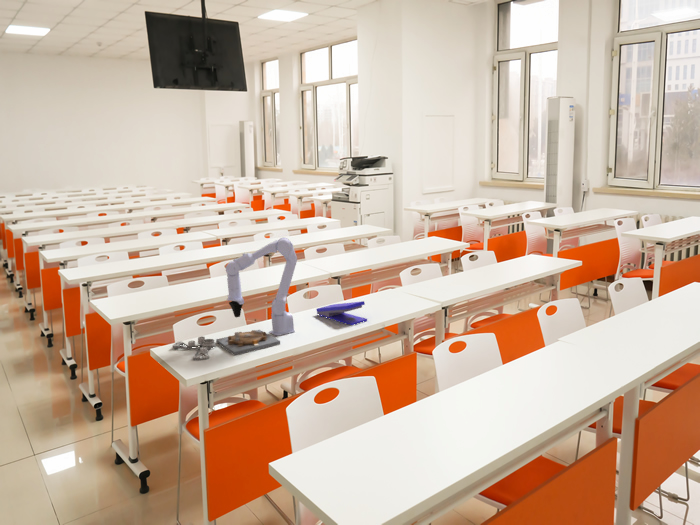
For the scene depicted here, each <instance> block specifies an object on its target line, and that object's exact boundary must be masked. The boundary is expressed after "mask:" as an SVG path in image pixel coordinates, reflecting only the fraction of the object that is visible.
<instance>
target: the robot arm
mask: <svg viewBox="0 0 700 525" xmlns="http://www.w3.org/2000/svg"><path fill="white" fill-rule="evenodd" d="M277 252H278V253H279V254H280V255H281V256H283V257H284V259H285V261H286V262H285V265H284V268H283V271H282V275H281V279H280V282H279V286H278V290H277V293H276V296H275V298H274V299H273V300H272V301H271V307H270V308H271V314H270V316H271V326H272V330H270V331H269V333H270V334H272V335H274V336H276V337H278V336H282V335H287V334H291V333H295V326H294V317H293V314H292V313H291V312H289V311H288V312H287V311H286V302H287V297H288V294H289V289H290V286H291V284H292V283H291V282H292V279H293V276H294V273H295V272H294V271H295V269H296V265H297V263H298V256H297V254H296V251H295V248H294V244H293V243H292V242H291V241H290V240H289V239H288V237H280V238H279V239H275V240H274V241H272V242H270V243H267V244H266V245H264V246H263V247H261V248H260V249H259V248H258V250H256V251H254V252H253V253H251V252H250V253H249V252H247V253H245V252H244V253H242V255H241V256H239V257H238V258H233V260H232V261H229V262H228V263H227V264H226V266H225V271H226V276H227V278H226V279H227V280H226V281H227V291H228V294H227V298H226V301H229V302H228V304H229V306H230V308H231V311H232V313H233V316H234V317H235V318H240V317H241V313H242V307H243V305H244V304H245V299H244V298H243V296H242V295H243V292H242V285H241V284H242V282H241V276H240V271H243V270H246V269H247V268H249V267H251V266H253V265H254V264H255V261H256V260H258V259H260V258H262V257H265V256H266V255H268V254H270V253H274V254H277Z"/></svg>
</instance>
